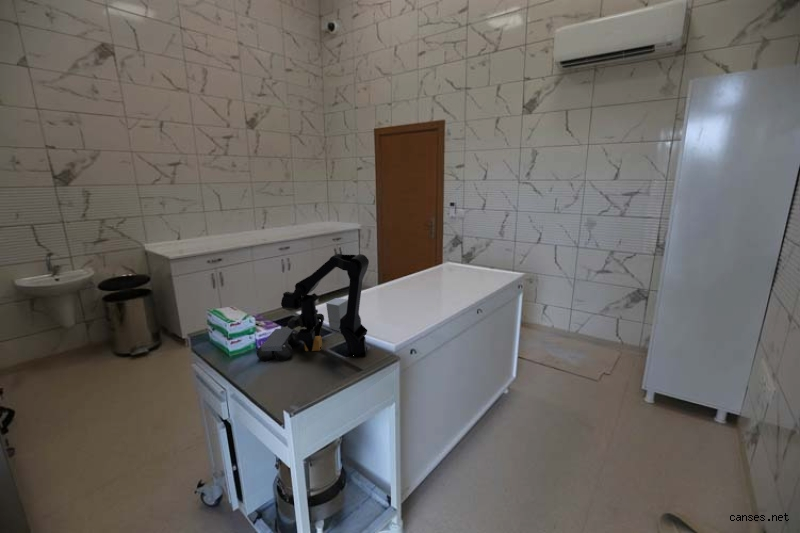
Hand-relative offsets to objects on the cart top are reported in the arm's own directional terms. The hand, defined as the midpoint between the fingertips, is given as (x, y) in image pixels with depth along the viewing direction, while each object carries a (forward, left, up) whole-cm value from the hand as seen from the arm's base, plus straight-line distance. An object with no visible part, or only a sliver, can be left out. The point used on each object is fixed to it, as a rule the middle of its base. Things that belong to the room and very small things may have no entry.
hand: (313, 345), depth 148 cm
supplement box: (-7, -19, -2) cm, 20 cm away
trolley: (+13, +2, -1) cm, 13 cm away
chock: (0, 0, -1) cm, 1 cm away
